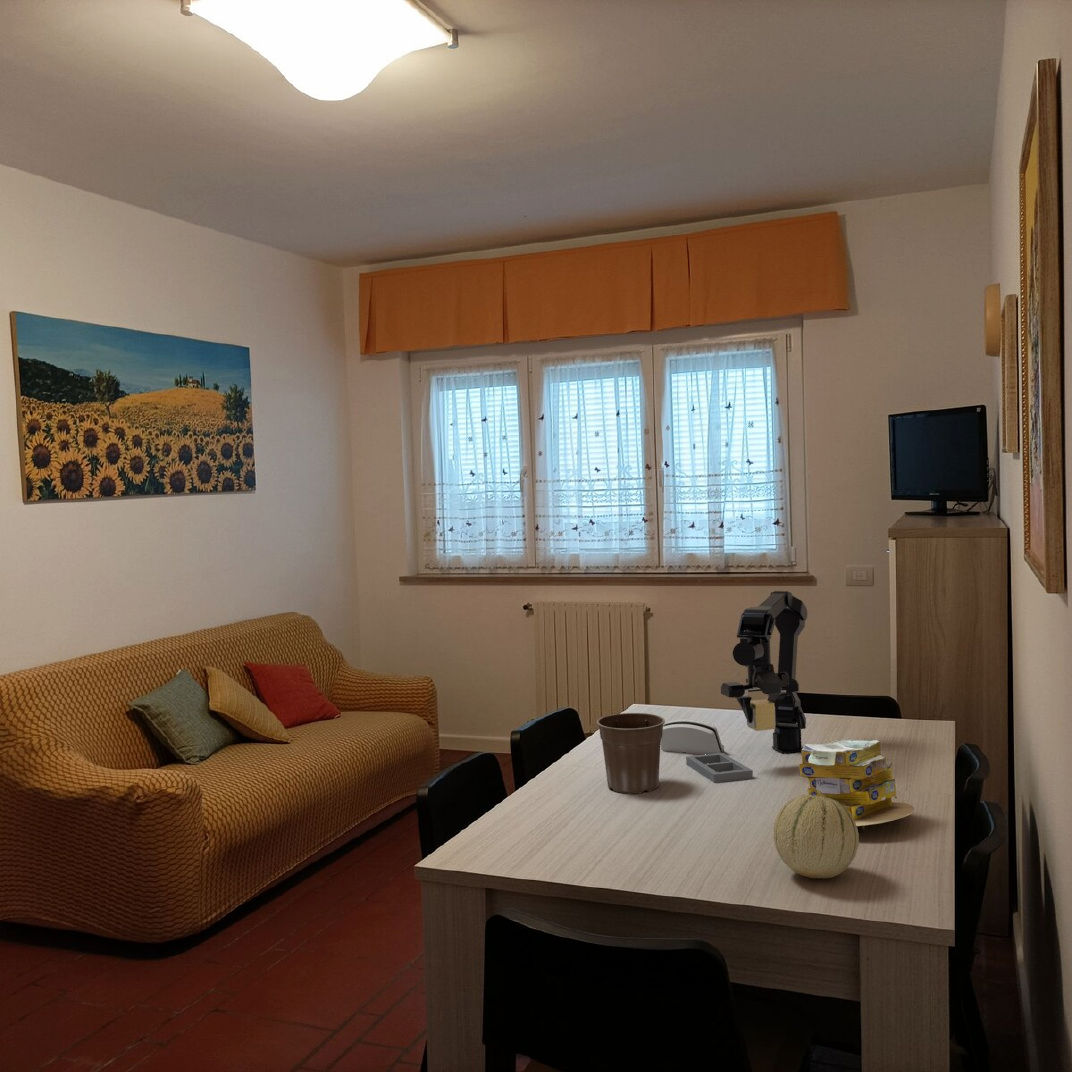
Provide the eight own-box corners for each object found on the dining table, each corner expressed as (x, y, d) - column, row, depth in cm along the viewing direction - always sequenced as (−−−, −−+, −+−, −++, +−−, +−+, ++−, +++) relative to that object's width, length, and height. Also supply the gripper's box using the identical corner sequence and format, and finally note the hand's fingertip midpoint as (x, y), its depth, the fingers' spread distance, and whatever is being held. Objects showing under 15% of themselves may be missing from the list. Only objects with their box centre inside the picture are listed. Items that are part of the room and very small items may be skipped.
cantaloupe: (778, 890, 178) (775, 805, 178) (772, 860, 193) (769, 781, 192) (866, 892, 176) (863, 806, 175) (853, 861, 190) (850, 782, 190)
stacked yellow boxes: (765, 818, 218) (762, 740, 217) (848, 796, 230) (846, 723, 229) (854, 850, 197) (851, 764, 196) (941, 825, 209) (938, 744, 208)
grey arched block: (725, 751, 274) (720, 718, 271) (720, 761, 270) (715, 728, 267) (667, 746, 282) (661, 714, 279) (661, 755, 278) (655, 724, 275)
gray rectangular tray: (722, 760, 265) (722, 752, 265) (752, 778, 247) (752, 770, 247) (686, 764, 263) (686, 756, 263) (714, 782, 245) (713, 774, 245)
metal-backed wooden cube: (767, 724, 258) (766, 699, 258) (776, 728, 253) (775, 702, 253) (746, 726, 257) (745, 701, 257) (754, 731, 252) (754, 704, 252)
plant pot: (664, 797, 235) (661, 728, 235) (594, 796, 238) (592, 727, 238) (669, 777, 251) (667, 712, 250) (604, 777, 254) (601, 712, 254)
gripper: (737, 667, 244) (739, 732, 245) (808, 661, 249) (810, 724, 249) (718, 660, 255) (721, 722, 256) (787, 654, 260) (789, 715, 260)
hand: (761, 721), depth 255 cm, fingers closed on metal-backed wooden cube, 6 cm apart
